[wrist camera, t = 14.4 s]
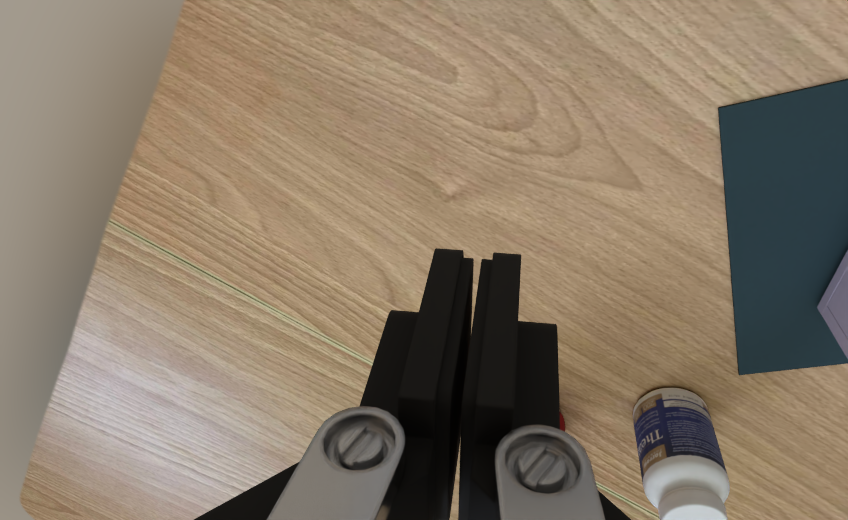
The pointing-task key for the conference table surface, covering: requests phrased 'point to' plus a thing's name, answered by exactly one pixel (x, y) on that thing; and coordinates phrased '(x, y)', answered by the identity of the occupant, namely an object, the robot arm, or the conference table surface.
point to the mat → (785, 222)
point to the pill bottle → (680, 456)
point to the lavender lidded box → (837, 305)
